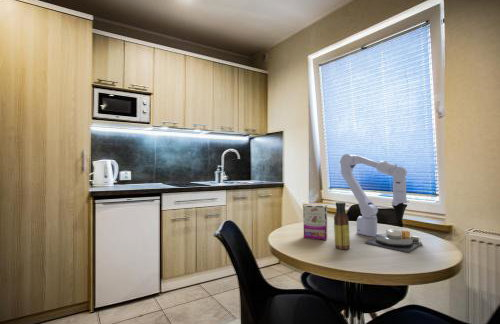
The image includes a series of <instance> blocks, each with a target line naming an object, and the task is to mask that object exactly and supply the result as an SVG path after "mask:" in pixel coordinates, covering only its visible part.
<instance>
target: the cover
mask: <svg viewBox="0 0 500 324" xmlns="http://www.w3.org/2000/svg"><path fill="white" fill-rule="evenodd" d="M401 231H402V230H398V229H392V228H391V229H386V230H385V233H386V237H387V238H390V239H401Z"/></svg>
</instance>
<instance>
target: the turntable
mask: <svg viewBox="0 0 500 324" xmlns="http://www.w3.org/2000/svg"><path fill="white" fill-rule="evenodd" d="M400 231H401V239H390V238H387V237H386V232H385V233H380V234H377V235H376V236H375V238H376V241H377V242H379V243H382V244H386V245H391V246H411V245H412V244H413V240H412V239H411V232H410V231H409V230H400Z"/></svg>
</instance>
